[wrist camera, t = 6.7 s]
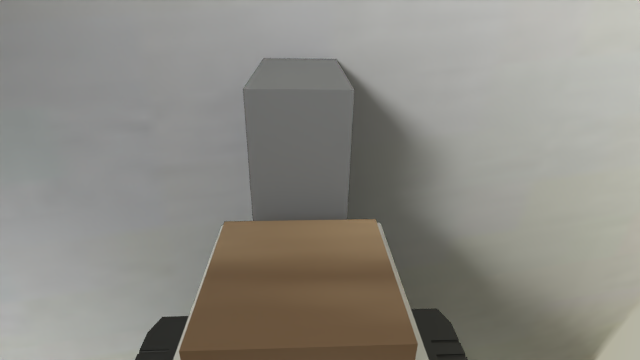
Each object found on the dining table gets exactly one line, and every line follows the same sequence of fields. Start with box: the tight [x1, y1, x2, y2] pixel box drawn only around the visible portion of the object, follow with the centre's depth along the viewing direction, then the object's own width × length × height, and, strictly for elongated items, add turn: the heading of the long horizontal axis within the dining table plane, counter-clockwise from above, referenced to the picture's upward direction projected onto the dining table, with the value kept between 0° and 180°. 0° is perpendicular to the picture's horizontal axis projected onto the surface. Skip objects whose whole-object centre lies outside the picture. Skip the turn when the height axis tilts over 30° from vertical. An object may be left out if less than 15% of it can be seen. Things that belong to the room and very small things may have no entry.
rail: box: [243, 58, 354, 221], centre depth 15 cm, size 16×3×6 cm, turn 179°
